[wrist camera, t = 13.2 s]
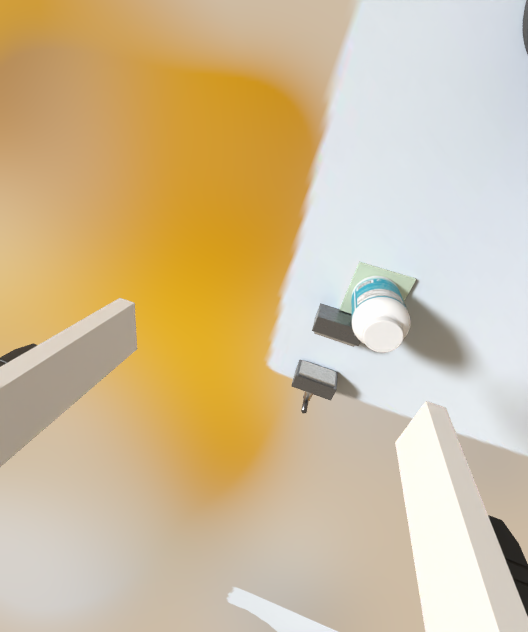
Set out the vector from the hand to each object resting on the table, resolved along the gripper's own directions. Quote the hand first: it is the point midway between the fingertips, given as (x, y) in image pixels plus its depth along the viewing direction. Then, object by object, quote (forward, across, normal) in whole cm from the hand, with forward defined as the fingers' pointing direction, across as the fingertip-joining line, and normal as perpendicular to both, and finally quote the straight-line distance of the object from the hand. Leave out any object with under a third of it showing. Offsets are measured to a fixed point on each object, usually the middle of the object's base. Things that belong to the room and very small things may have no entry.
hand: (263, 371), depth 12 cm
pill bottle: (+36, +11, -9) cm, 39 cm away
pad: (+37, +11, -9) cm, 39 cm away
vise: (+38, +7, -24) cm, 45 cm away
